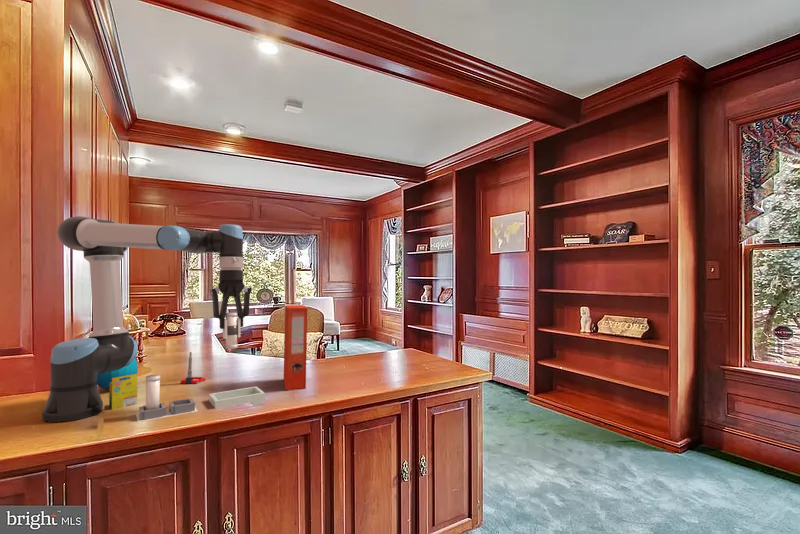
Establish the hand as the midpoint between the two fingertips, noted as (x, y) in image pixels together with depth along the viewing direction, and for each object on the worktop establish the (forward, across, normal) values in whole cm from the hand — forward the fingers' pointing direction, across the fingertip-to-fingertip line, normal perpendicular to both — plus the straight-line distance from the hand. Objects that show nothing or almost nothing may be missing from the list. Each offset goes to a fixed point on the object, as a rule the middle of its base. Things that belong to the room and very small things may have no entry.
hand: (231, 337), depth 136 cm
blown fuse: (+4, 0, 0) cm, 4 cm away
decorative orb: (+23, -29, +50) cm, 62 cm away
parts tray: (+24, +2, +1) cm, 24 cm away
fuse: (+22, -23, +2) cm, 32 cm away
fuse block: (+23, -19, +2) cm, 30 cm away
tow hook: (+23, -2, +44) cm, 50 cm away
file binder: (+24, +29, +13) cm, 39 cm away
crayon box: (+23, -29, +18) cm, 41 cm away
